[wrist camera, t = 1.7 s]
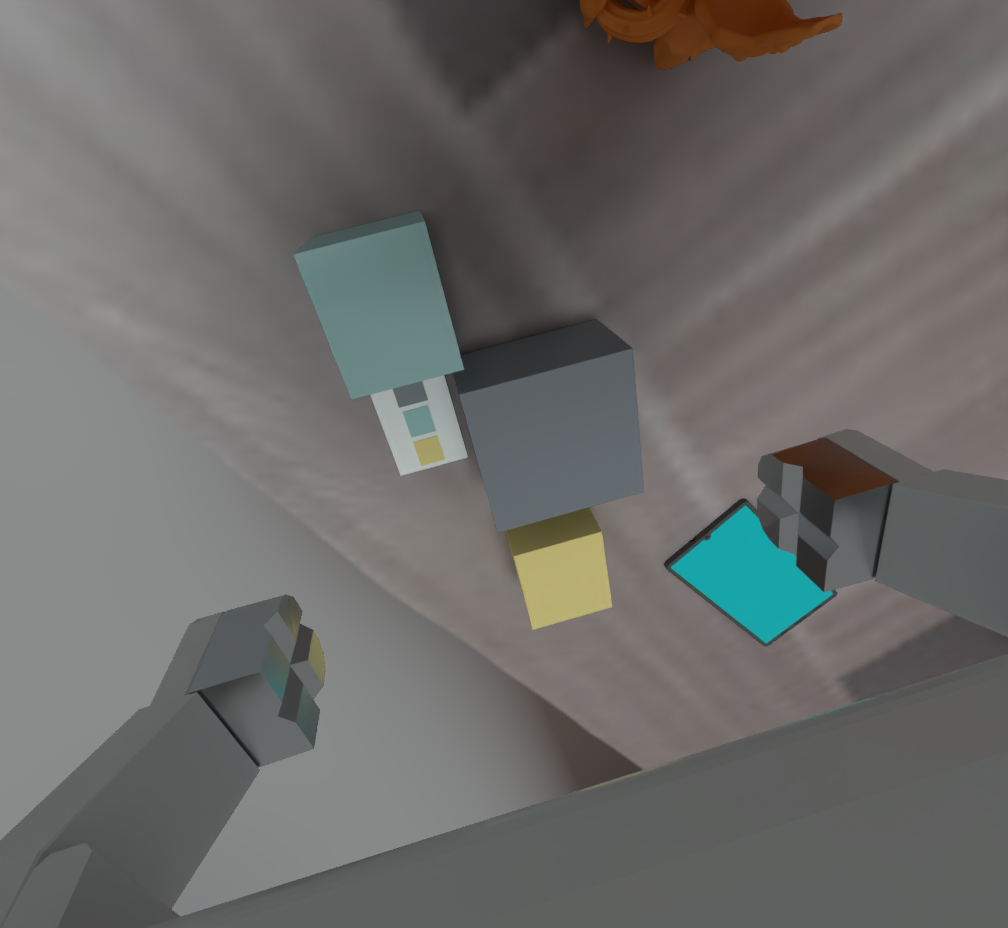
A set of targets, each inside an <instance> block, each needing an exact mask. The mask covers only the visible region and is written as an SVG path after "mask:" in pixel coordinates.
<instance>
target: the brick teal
mask: <svg viewBox="0 0 1008 928" xmlns="http://www.w3.org/2000/svg"><path fill="white" fill-rule="evenodd" d="M293 255H294V258H295V260H296V263H297V265H298V268H299V270H300V273H301V275H302V278H303V280H304V283H305V285H306V288H307V290H308V293H309V295H310V298H311V300H312V303H313V305H314V308H315V310H316V313H317V315H318V318H319V320H320V323H321V325H322V328H323V330H324V333H325V335H326V338H327V340H328V343H329V345H330V348H331V350H332V353H333V355H334V358H335V360H336V363H337V365H338V368H339V370H340V373H341V375H342V378H343V380H344V383H345V385H346V388H347V390H348V393H349V395H350V398H351V400H352V399H356V398H360V397H364V396H367V395H371V394H375V393H379V392H382V391H386V390H390V389H394V388H397V387H401V386H405V385H409V384H412V383H416V382H420V381H424V380H427V379H431V378H435V377H439V376H442V375H446V374H450V373H454V372H457V371H461V370H464V367H463V363H462V359H461V356H460V352H459V348H458V344H457V340H456V337H455V333H454V329H453V325H452V322H451V318H450V314H449V310H448V307H447V303H446V299H445V295H444V292H443V288H442V284H441V280H440V276H439V273H438V269H437V265H436V261H435V258H434V254H433V250H432V246H431V243H430V239H429V235H428V231H427V227H426V224H425V220H424V218H423V216H422V214H421V211H420V210H419V211H415V212H411V213H407V214H403V215H399V216H395V217H391V218H387V219H383V220H379V221H375V222H371V223H367V224H363V225H359V226H355V227H351V228H347V229H343V230H339V231H335V232H331V233H328V234H324V235H320V236H316V237H312V238H311V239H309V240H308V241H307V242H306V243H305V244H304V245H303V246H302V247H301V248H300V249H299V250H298V251H297V252H295V253H294V254H293Z"/></svg>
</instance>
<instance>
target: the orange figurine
mask: <svg viewBox="0 0 1008 928" xmlns="http://www.w3.org/2000/svg"><path fill="white" fill-rule="evenodd" d="M628 1H629V2H630V3H631V4H632V5H634V6H635V7H636V8H638V9H639V10H634V9H630V8H626V7H624V6H623V5H621V4H620V3H619V2H618V1H617V0H580V10H581V13H582V14H583V17H584V20H583V25H584V27H585V28H587V27H588V26H589V25H590V24H591V23H592V21H593V20H594V19H596V20H597V22H598V23H599V24H600V26H601V27H602V29H603V30H605V31H606V32H607V43H608V44H609V43H610V41H611V39H612V37H615V38H618V39H621V40H624V41H627V42H633V43H644V42H649V41H653V40H655V39H656V41H655V43H654V47H653V51H654V59H655V66H656V67H657V68H658V69H661V70H666V69H672V68H673V67H674V66H677V65H680V64H682V63H685V62H687V61H688V59H689V61H692V60H693V59H694V58H695V57H696V56H697V55H698V54H700V53H702V52H704V51H706V50H707V49H710V48H714V47H718V48H719V49H720V50H721V51H722V52H725V53H727V54H729V55H731V56H732V57H733V58H734V59H735V60H737V61H742V60H745V59H746V58H747V57H755V56H761V55H764V54H766V53H770V54H775V53H777V52H779V53H782V52H785V51H787V50H788V49H789V48H790V47H793V46H796V45H798V44H799V43H801V42H802V41H803V40H804V39H808V38H811V37H813V36H814V35H817V34H821V33H825V32H828V31H831V30H833V29H835V28H837V27H839V26H840V25H841V23H842V17H843V16H842V14H841V13H840V14H836V15H831V16H827V17H817V18H811V19H799V18H798V17H796V16H795V15H794V13H793V9H792V7H791V6H790V4H789V3H788V2H787V1H786V0H628Z"/></svg>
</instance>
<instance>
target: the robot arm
mask: <svg viewBox="0 0 1008 928" xmlns="http://www.w3.org/2000/svg"><path fill="white" fill-rule="evenodd" d="M758 478H759V479H760V480H761V481H762V482H763V483H764V484H765V485H766V486H765V487H764V489H763V490H762V492H761V493H760V495H759V496H758V498H757V515H758V518H759V521H760V524H761V526H762V529H763V531H764V532H765V534H766V535H767V537H768V538H769V540H770V541H771V542H772V543H773V544H774V545H775V546H776V547H777V548H778V549H780V550H783V551H786V552H789V553H792V554H795V555H796V566H797V567H798V568H799V569H800V570H801V571H802V572H803V573H804V574H805V575H806V576H807V577H808V578H809V579H810V580H811V581H812V582H814V583H815V584H816V585H817V586H818V587H819V588H820V589H821V590H822V591H823V592H828V591H831V590H835V589H839V588H842V587H846V586H850V585H853V584H857V583H860V582H864V581H868V580H871V579H875V578H876V579H875V581H876V582H879V583H881V584H883V585H886V586H888V587H890V588H893V589H895V590H897V591H900V592H902V593H905V594H907V595H909V596H912V597H914V598H916V599H919V600H921V601H923V602H926V603H928V604H931V605H933V606H935V607H938V608H940V609H942V610H945V611H947V612H949V613H952V614H954V615H957V616H959V617H961V618H964V619H966V620H968V621H971V622H973V623H975V624H978V625H980V626H983V627H985V628H987V629H990V630H992V631H994V632H997V633H999V634H1001V635H1004V636H1006V637H1008V480H1003V479H998V478H992V477H986V476H980V475H974V474H968V473H962V472H956V471H950V470H944V469H943V470H939V471H936V472H933V471H931V470H929V469H928V468H926V467H924V466H922V465H920V464H918V463H916V462H915V461H913V460H911V459H909V458H907V457H905V456H903V455H902V454H900V453H898V452H896V451H894V450H892V449H890V448H889V447H887V446H885V445H883V444H881V443H879V442H877V441H876V440H874V439H872V438H870V437H868V436H866V435H864V434H862V433H861V432H859V431H857V430H849V429H845V430H842V431H839V432H836V433H833V434H830V435H826V436H823V437H820V438H818V439H817V440H814V441H811V442H807V443H804V444H801V445H797V446H794V447H790V448H787V449H784V450H780V451H777V452H774V453H770V454H767V455H764V456H762V457H761V459H760V462H759V464H758ZM301 616H302V610H301V608H300V607H299V605H298V603H297V602H296V601H295V599H294V597H291V596H289V595H283V596H279V597H276V598H272V599H268V600H264V601H261V602H257V603H253V604H250V605H246V606H242V607H238V608H235V609H231V610H228V611H226V612H221V613H217V614H214V615H210V616H207V617H203V618H200V619H197V620H196V621H194V622H193V623H191V624H190V625H189V626H188V628H187V630H186V632H185V634H184V636H183V638H182V640H181V642H180V644H179V647H178V649H177V651H176V653H175V655H174V657H173V660H172V661H171V663H170V665H169V667H168V670H167V671H166V674H165V676H164V678H163V680H162V682H161V684H160V686H159V688H158V690H157V692H156V694H155V696H154V699H153V701H152V703H151V705H150V706H149V707H145V708H142V709H139V710H138V711H137V712H136V713H135V714H134V715H133V716H132V717H131V718H130V719H129V720H128V721H126V722H125V723H124V724H123V725H122V726H121V727H120V728H119V729H118V730H117V731H116V732H115V733H114V734H113V735H112V736H111V737H109V738H108V739H107V740H106V741H105V742H104V743H103V744H102V745H101V746H100V747H99V748H98V749H97V750H96V751H95V752H94V753H92V754H91V755H90V756H89V757H88V758H87V759H86V760H85V761H84V762H83V763H82V764H81V765H80V766H79V767H78V768H77V769H76V770H74V771H73V772H72V773H71V774H70V775H69V776H68V777H67V778H66V779H65V780H64V781H63V782H62V783H61V784H60V785H59V786H57V787H56V788H55V789H54V790H53V791H52V792H51V793H50V794H49V795H48V796H47V797H46V798H45V799H44V800H43V801H42V802H40V804H38V805H37V806H36V807H35V808H34V809H33V810H32V811H31V812H30V813H29V814H28V815H27V816H26V817H25V818H24V819H23V820H21V822H20V823H18V824H17V825H16V826H15V827H14V828H13V829H12V830H11V831H10V832H9V833H8V834H7V835H6V836H4V837H3V838H2V839H1V840H0V928H1008V654H1007V655H1004V656H1000V657H997V658H994V659H991V660H988V661H985V662H981V663H978V664H975V665H972V666H969V667H966V668H963V669H959V670H956V671H953V672H950V673H947V674H944V675H940V676H937V677H934V678H931V679H928V680H925V681H922V682H918V683H915V684H912V685H909V686H906V687H903V688H900V689H896V690H893V691H890V692H887V693H884V694H881V695H878V696H875V697H871V698H868V699H865V700H862V701H859V702H856V703H853V704H849V705H846V706H843V707H840V708H837V709H834V710H831V711H827V712H824V713H821V714H818V715H815V716H812V717H809V718H806V719H802V720H799V721H796V722H793V723H790V724H787V725H784V726H780V727H777V728H774V729H771V730H768V731H765V732H762V733H758V734H755V735H752V736H749V737H746V738H743V739H740V740H737V741H733V742H730V743H727V744H724V745H721V746H718V747H715V748H711V749H708V750H705V751H702V752H699V753H696V754H693V755H689V756H686V757H683V758H680V759H677V760H674V761H671V762H667V763H664V764H661V765H658V766H655V767H652V768H648V769H645V770H642V771H639V772H636V773H633V774H629V775H626V776H623V777H620V778H617V779H614V780H610V781H608V782H604V783H601V784H598V785H595V786H591V787H588V788H585V789H582V790H579V791H576V792H573V793H570V794H566V795H563V796H560V797H557V798H554V799H550V800H548V801H544V802H541V803H538V804H535V805H532V806H529V807H525V808H522V809H519V810H516V811H512V812H509V813H506V814H503V815H500V816H497V817H494V818H490V819H487V820H484V821H481V822H478V823H474V824H472V825H468V826H465V827H462V828H459V829H456V830H453V831H450V832H446V833H443V834H440V835H437V836H434V837H430V838H427V839H424V840H421V841H418V842H415V843H411V844H408V845H405V846H402V847H399V848H396V849H393V850H390V851H386V852H383V853H380V854H377V855H374V856H370V857H367V858H364V859H361V860H358V861H355V862H352V863H348V864H345V865H342V866H340V867H336V868H333V869H329V870H327V871H323V872H320V873H317V874H314V875H311V876H308V877H305V878H301V879H298V880H295V881H292V882H288V883H286V884H282V885H279V886H276V887H273V888H270V889H267V890H263V891H260V892H257V893H254V894H251V895H248V896H245V897H241V898H238V899H235V900H232V901H229V902H225V903H222V904H219V905H216V906H213V907H210V908H207V909H203V910H200V911H197V912H194V913H191V914H188V915H184V916H182V917H181V916H179V915H178V914H177V913H175V912H174V911H172V907H173V906H174V904H175V903H176V901H177V899H178V898H179V896H180V895H181V893H182V892H183V890H184V889H185V887H186V885H187V884H188V882H189V881H190V879H191V878H192V876H193V874H194V873H195V871H196V870H197V868H198V867H199V865H200V863H201V862H202V860H203V859H204V857H205V856H206V854H207V853H208V851H209V849H210V848H211V846H212V845H213V843H214V841H215V840H216V838H217V837H218V835H219V834H220V832H221V831H222V829H223V828H224V826H225V824H226V823H227V821H228V820H229V818H230V816H231V815H232V813H233V812H234V810H235V809H236V807H237V806H238V804H239V802H240V801H241V799H242V798H243V796H244V794H245V793H246V791H247V790H248V788H249V787H250V785H251V784H252V782H253V780H254V779H255V777H256V776H257V774H258V773H259V771H260V769H259V768H258V767H261V766H264V765H267V764H270V763H273V762H276V761H279V760H282V759H285V758H288V757H291V756H294V755H297V754H300V753H303V752H306V751H309V750H312V749H314V745H315V739H316V732H317V725H318V720H319V713H320V709H319V708H318V706H317V705H316V703H315V702H314V700H313V699H314V698H315V697H316V695H317V694H318V693H319V691H320V690H321V689H322V687H323V686H324V678H325V662H324V653H323V650H322V647H321V644H320V641H319V639H318V637H317V635H316V634H315V632H314V630H312V629H310V628H308V627H306V626H304V625H302V624H300V620H301Z"/></svg>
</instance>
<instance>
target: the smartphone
mask: <svg viewBox="0 0 1008 928" xmlns="http://www.w3.org/2000/svg"><path fill="white" fill-rule="evenodd" d="M664 565H665V567H666V569H667V570H668V571H669V572H670V573H672V574H673V575H674V576H676V577H677V578H678V579H679V580H681V581H682V582H683V583H684V584H686V585H687V586H688V587H690V588H691V589H692V590H693V591H695V592H696V593H697V594H698V595H700V596H701V597H702V598H704V599H705V600H706V601H707V602H709V603H710V604H711V605H712V606H714V607H715V608H716V609H718V610H719V611H720V612H721V613H723V614H724V615H725V616H726V617H728V618H729V619H730V620H732V621H733V622H734V623H735V624H737V625H738V626H739V627H740V628H742V629H743V630H744V631H746V632H747V633H748V634H749V635H751V636H752V637H753V638H754V639H756V640H757V641H758V642H760V643H761V644H762V645H763V646H769V645H770V644H772V643H773V642H774V641H776V640H777V639H778V638H780V637H781V636H782V635H784V634H785V633H787V632H788V631H789V630H791V629H792V628H793V627H795V626H796V625H797V624H799V623H800V622H802V621H803V620H804V619H806V618H807V617H808V616H810V615H811V614H812V613H814V612H815V611H816V610H818V609H819V608H821V607H822V606H823V605H825V604H826V603H827V602H829V601H830V600H831V599H833V598H834V597H835V596H836V595H837V592H836V591H835V590H831V591H828V592H823V591H822V590H821V589H820V588H819V587H818V586H817V585H816V584H815V583H814V582H812V581H811V580H810V579H809V578H808V577H807V576H806V575H805V574H804V573H803V572H802V571H801V570H800V569H799V568H798V567H797V566H796V555H795V554H792V553H789V552H786V551H783V550H780V549H778V548H777V547H776V546H775V545H774V544H773V543H772V542H771V541H770V540H769V538H768V537H767V535H766V534H765V532H764V531H763V529H762V526H761V524H760V521H759V518H758V515H757V510H756V509H755V508H754V507H753V506H752V505H751V504H750V503H749V502H748V501H747V500H746V499H740V500H739V501H738V502H736V503H735V504H734V505H733V506H732V507H730V508H729V509H728V510H727V511H725V512H724V513H723V514H722V515H721V516H719V517H718V518H717V519H716V520H715V521H713V522H712V523H711V524H710V525H709V526H707V527H706V528H705V529H704V530H703V531H701V532H700V533H699V534H698V535H697V536H695V540H694V541H689V542H688V543H687V544H686V545H684V546H683V547H682V548H681V549H680V550H678V551H677V552H676V553H675V554H674V555H672V556H671V557H670V558H669V559H668V560H666V561H665V563H664Z"/></svg>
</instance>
